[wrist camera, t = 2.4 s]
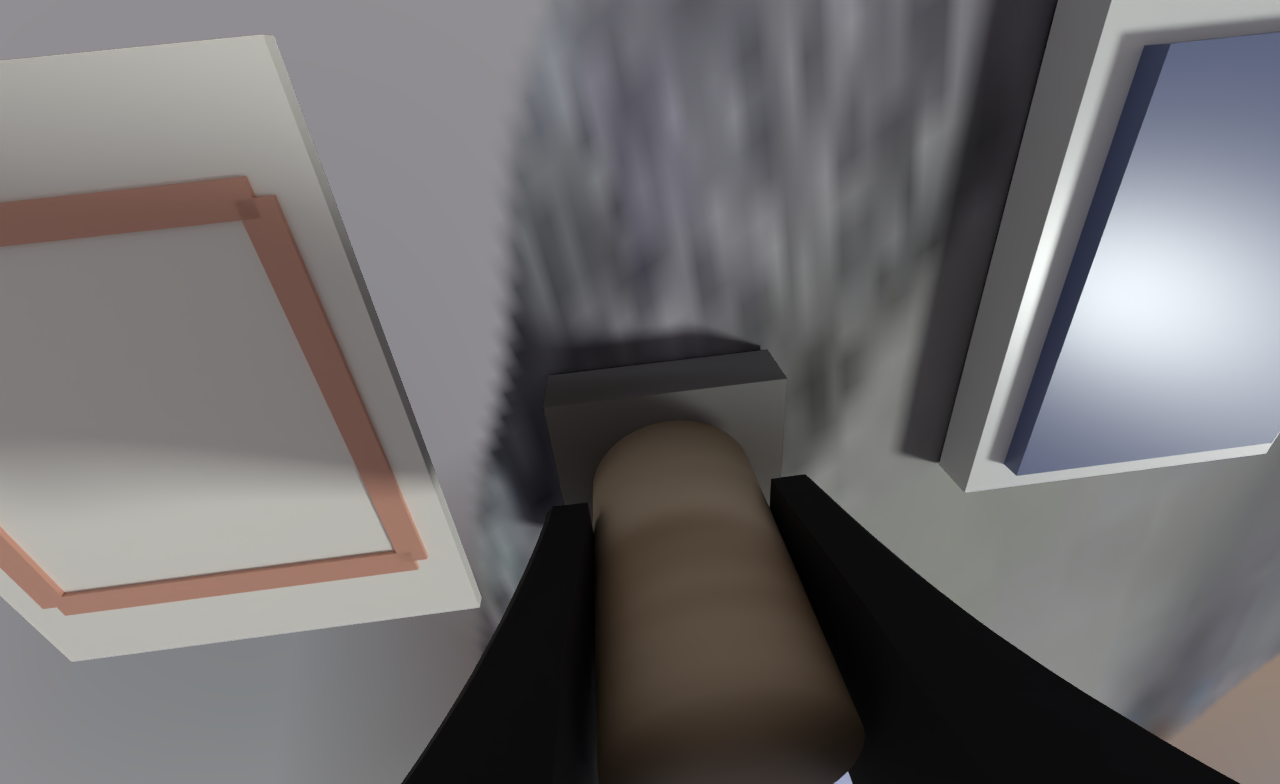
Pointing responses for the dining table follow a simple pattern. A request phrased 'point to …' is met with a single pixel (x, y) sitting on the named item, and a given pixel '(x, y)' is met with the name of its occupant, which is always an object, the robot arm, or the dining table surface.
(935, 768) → the robot arm
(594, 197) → the dining table surface
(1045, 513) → the dining table surface
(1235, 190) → the ink pad
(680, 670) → the stamp
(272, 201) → the sheet
